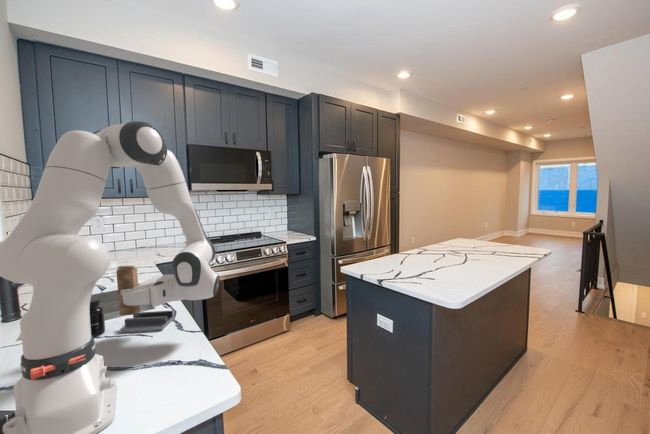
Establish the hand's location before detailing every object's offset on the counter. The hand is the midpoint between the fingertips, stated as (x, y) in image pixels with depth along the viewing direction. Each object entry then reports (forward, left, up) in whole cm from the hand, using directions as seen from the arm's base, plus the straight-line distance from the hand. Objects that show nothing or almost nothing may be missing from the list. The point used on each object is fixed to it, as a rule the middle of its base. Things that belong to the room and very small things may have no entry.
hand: (125, 289), depth 95 cm
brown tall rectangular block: (-1, -1, -8) cm, 8 cm away
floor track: (+7, -8, -16) cm, 19 cm away
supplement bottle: (+13, +8, -17) cm, 22 cm away
